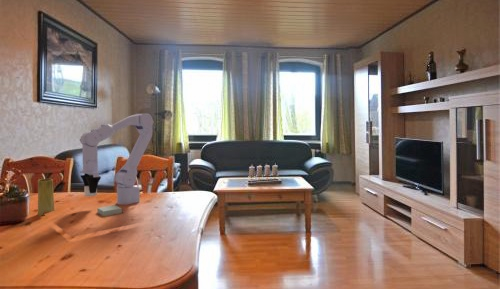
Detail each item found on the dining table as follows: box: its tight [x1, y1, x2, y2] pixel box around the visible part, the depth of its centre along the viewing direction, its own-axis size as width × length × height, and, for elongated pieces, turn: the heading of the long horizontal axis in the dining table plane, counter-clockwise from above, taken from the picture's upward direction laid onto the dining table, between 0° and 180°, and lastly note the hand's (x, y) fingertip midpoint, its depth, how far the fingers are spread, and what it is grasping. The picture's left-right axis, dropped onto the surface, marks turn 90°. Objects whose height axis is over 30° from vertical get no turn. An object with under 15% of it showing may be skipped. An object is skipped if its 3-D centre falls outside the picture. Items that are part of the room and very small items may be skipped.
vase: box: [36, 178, 55, 217], centre depth 131 cm, size 6×6×14 cm
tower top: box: [97, 204, 123, 217], centre depth 129 cm, size 7×7×2 cm
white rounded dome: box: [83, 185, 98, 198], centre depth 136 cm, size 5×5×4 cm
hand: (90, 191), depth 136 cm, fingers closed on white rounded dome, 5 cm apart
